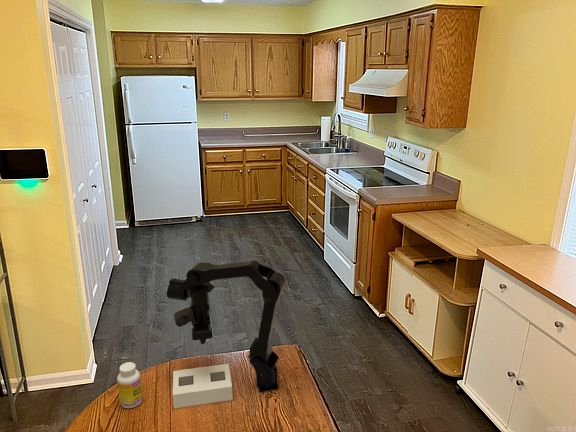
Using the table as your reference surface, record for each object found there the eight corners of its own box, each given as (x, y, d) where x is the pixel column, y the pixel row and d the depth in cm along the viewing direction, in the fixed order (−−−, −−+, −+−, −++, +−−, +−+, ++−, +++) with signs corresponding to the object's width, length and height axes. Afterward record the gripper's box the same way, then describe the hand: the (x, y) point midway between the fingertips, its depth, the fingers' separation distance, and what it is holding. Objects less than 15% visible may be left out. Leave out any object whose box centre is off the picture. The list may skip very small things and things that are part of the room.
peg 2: (224, 384, 149) (223, 371, 148) (225, 392, 146) (224, 379, 144) (211, 386, 149) (211, 373, 147) (212, 394, 145) (211, 380, 143)
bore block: (229, 376, 154) (228, 363, 152) (232, 399, 142) (232, 386, 141) (174, 383, 150) (173, 370, 148) (173, 408, 139) (172, 394, 137)
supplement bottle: (135, 410, 138) (131, 374, 134) (116, 407, 139) (111, 372, 135) (146, 396, 144) (142, 361, 140) (127, 393, 145) (123, 359, 142)
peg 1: (193, 388, 147) (192, 375, 146) (193, 396, 144) (192, 383, 142) (180, 390, 147) (179, 377, 145) (180, 398, 143) (179, 385, 141)
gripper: (175, 291, 154) (178, 331, 158) (173, 318, 136) (177, 363, 141) (208, 288, 156) (210, 328, 161) (211, 314, 139) (213, 358, 143)
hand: (202, 343), depth 151 cm, fingers closed
